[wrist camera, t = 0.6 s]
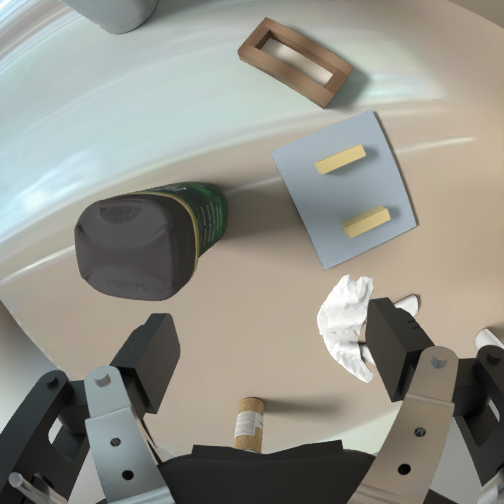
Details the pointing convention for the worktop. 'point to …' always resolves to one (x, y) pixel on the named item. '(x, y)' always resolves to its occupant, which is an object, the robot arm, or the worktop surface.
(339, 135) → the panel
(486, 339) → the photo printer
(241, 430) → the sprinkles bottle
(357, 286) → the cloth
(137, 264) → the coffee jar
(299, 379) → the worktop surface
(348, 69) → the frame
